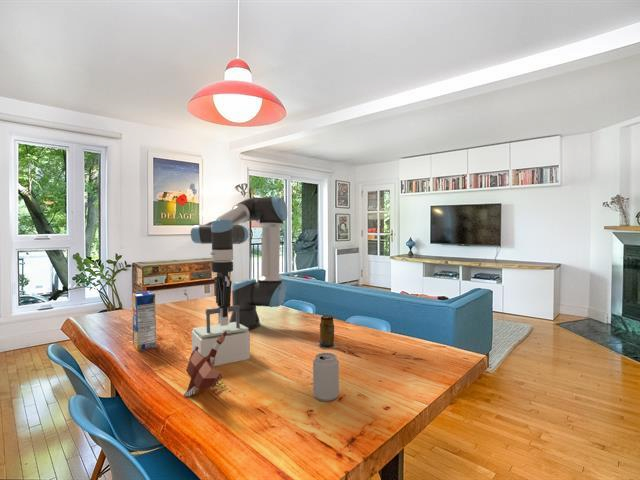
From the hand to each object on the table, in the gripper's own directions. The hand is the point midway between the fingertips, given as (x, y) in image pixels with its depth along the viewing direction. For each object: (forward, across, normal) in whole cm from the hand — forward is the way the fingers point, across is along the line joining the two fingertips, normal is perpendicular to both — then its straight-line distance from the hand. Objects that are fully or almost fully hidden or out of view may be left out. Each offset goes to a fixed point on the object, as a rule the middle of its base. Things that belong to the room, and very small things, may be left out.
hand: (223, 324), depth 129 cm
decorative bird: (+14, +21, -12) cm, 28 cm away
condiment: (+14, +6, +42) cm, 45 cm away
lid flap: (+3, -4, 0) cm, 5 cm away
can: (+14, +43, +17) cm, 49 cm away
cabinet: (+14, -4, 0) cm, 14 cm away
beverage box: (+14, -35, -23) cm, 44 cm away
